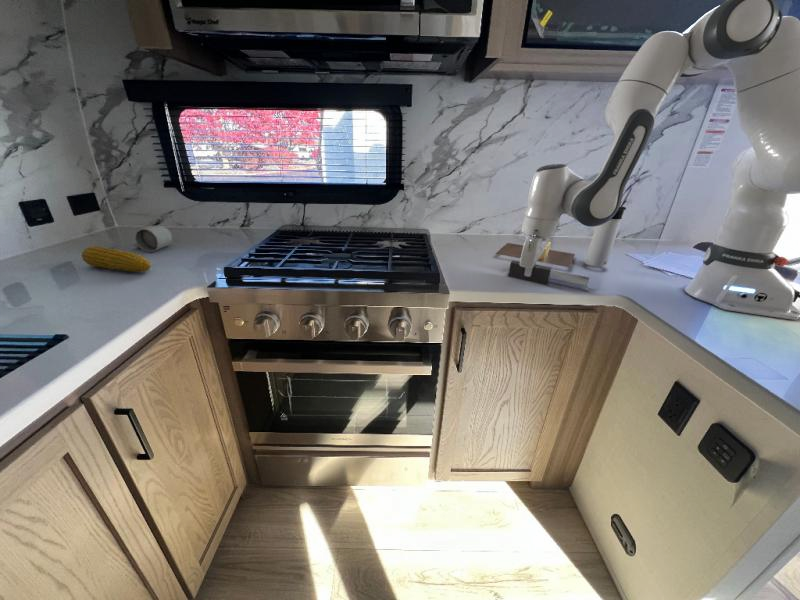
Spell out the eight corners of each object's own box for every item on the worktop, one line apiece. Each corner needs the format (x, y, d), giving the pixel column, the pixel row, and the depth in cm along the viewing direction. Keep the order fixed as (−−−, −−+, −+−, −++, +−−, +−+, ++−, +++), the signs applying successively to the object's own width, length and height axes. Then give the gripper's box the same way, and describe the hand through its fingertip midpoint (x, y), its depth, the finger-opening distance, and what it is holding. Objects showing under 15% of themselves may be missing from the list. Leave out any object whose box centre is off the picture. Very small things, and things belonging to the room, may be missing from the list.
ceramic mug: (176, 245, 116) (170, 223, 113) (161, 252, 109) (153, 229, 105) (147, 244, 116) (140, 222, 113) (129, 251, 109) (121, 228, 105)
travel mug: (609, 272, 106) (630, 208, 97) (587, 270, 107) (605, 207, 99) (602, 266, 112) (621, 205, 103) (581, 264, 113) (598, 204, 104)
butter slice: (545, 257, 114) (547, 247, 112) (543, 259, 111) (546, 249, 110) (530, 254, 116) (532, 244, 114) (528, 256, 113) (530, 246, 112)
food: (82, 268, 94) (73, 248, 91) (102, 262, 99) (94, 243, 96) (143, 276, 90) (137, 255, 88) (161, 269, 95) (155, 249, 93)
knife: (585, 289, 93) (590, 274, 91) (585, 292, 91) (589, 277, 89) (510, 273, 102) (512, 260, 100) (508, 276, 100) (510, 262, 98)
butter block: (548, 251, 120) (550, 242, 118) (545, 256, 114) (548, 246, 113) (534, 248, 122) (536, 239, 121) (530, 253, 117) (532, 244, 115)
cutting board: (573, 257, 119) (574, 253, 118) (569, 271, 105) (570, 267, 105) (506, 246, 129) (507, 242, 129) (494, 257, 116) (495, 253, 115)
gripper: (545, 236, 82) (533, 287, 88) (556, 222, 98) (545, 266, 104) (519, 232, 85) (509, 282, 91) (533, 219, 101) (525, 262, 107)
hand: (529, 273), depth 98 cm, fingers closed on knife, 2 cm apart
